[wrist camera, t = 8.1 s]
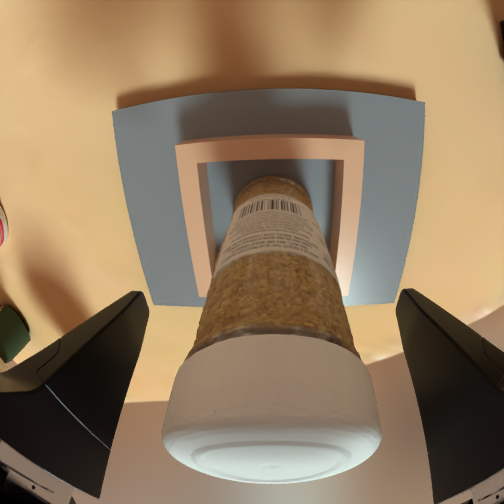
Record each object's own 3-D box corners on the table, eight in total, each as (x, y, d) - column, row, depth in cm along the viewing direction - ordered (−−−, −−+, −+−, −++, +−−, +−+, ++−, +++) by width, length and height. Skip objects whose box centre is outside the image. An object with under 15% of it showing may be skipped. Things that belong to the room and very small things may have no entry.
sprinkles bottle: (228, 238, 17) (163, 472, 5) (242, 165, 15) (142, 398, 3) (302, 253, 17) (328, 488, 6) (323, 183, 15) (434, 421, 3)
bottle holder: (417, 102, 13) (442, 104, 10) (390, 294, 20) (402, 320, 17) (120, 110, 14) (93, 114, 12) (157, 296, 21) (144, 322, 18)
